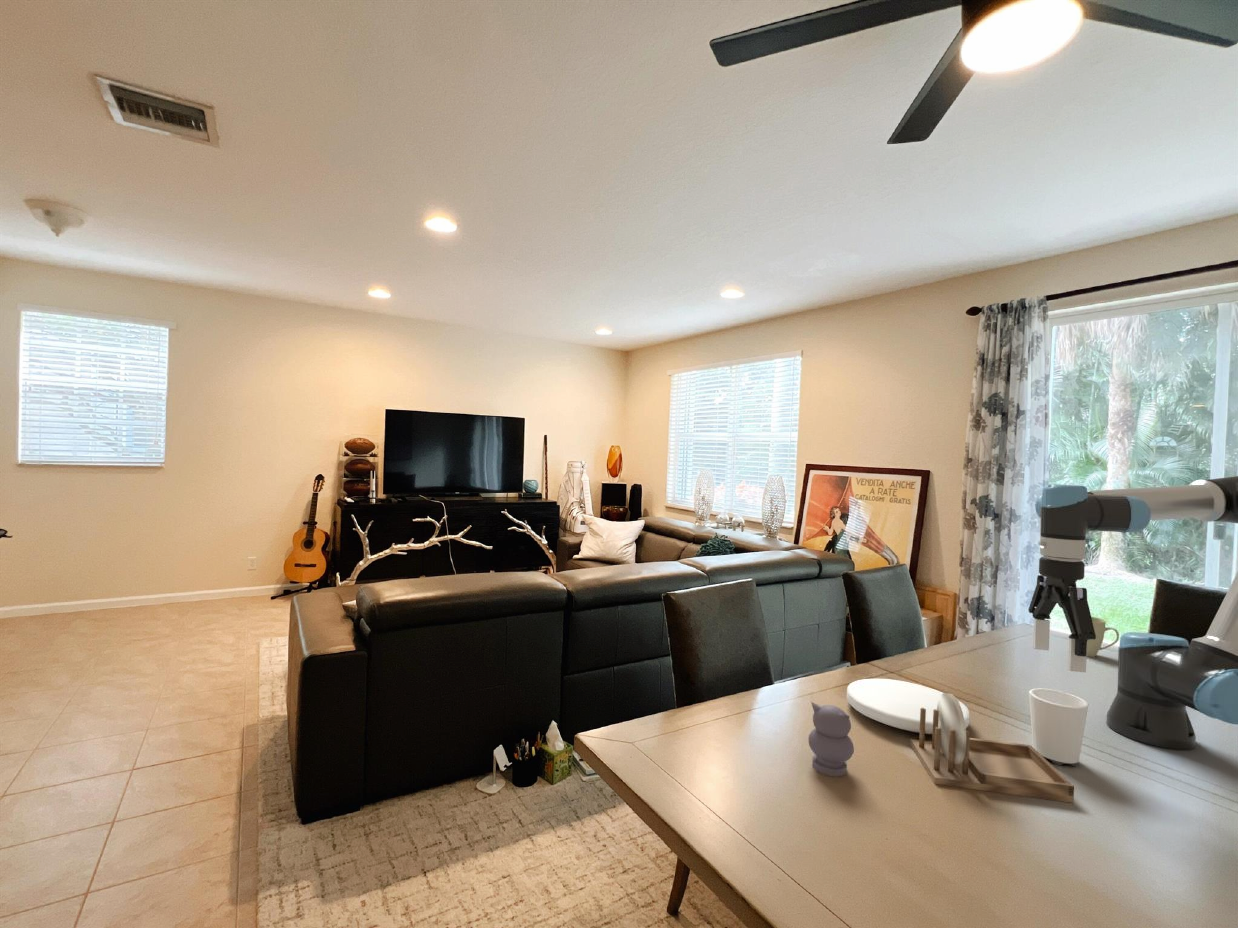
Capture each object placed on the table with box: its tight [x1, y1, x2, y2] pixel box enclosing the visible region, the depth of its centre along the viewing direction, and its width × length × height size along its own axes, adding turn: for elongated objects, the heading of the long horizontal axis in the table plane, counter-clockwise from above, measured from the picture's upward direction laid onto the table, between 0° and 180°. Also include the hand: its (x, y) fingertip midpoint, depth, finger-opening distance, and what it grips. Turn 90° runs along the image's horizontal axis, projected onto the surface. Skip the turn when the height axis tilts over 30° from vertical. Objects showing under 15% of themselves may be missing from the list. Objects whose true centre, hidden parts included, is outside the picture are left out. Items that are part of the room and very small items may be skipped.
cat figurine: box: [807, 701, 855, 777], centre depth 112 cm, size 8×8×12 cm
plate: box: [846, 678, 971, 735], centre depth 137 cm, size 28×6×27 cm
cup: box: [1028, 687, 1089, 767], centre depth 119 cm, size 10×10×13 cm
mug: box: [1087, 616, 1120, 658], centre depth 189 cm, size 11×10×12 cm
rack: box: [909, 692, 1075, 803], centre depth 113 cm, size 23×15×14 cm
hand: (1057, 659), depth 119 cm, fingers open, 13 cm apart
